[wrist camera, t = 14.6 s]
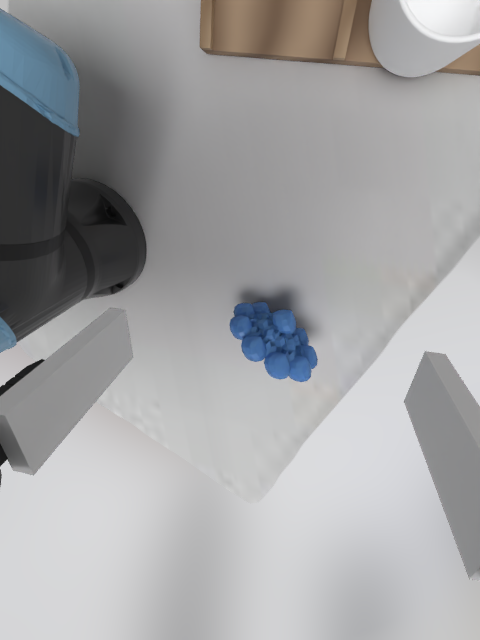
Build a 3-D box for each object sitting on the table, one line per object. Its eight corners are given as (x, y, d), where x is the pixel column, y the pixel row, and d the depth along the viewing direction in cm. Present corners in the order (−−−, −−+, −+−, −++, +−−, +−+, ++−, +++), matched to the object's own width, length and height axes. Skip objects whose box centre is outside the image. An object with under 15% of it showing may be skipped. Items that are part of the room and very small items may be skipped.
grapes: (334, 311, 40) (340, 367, 29) (306, 347, 43) (303, 409, 33) (255, 268, 39) (233, 310, 29) (233, 309, 43) (207, 359, 33)
